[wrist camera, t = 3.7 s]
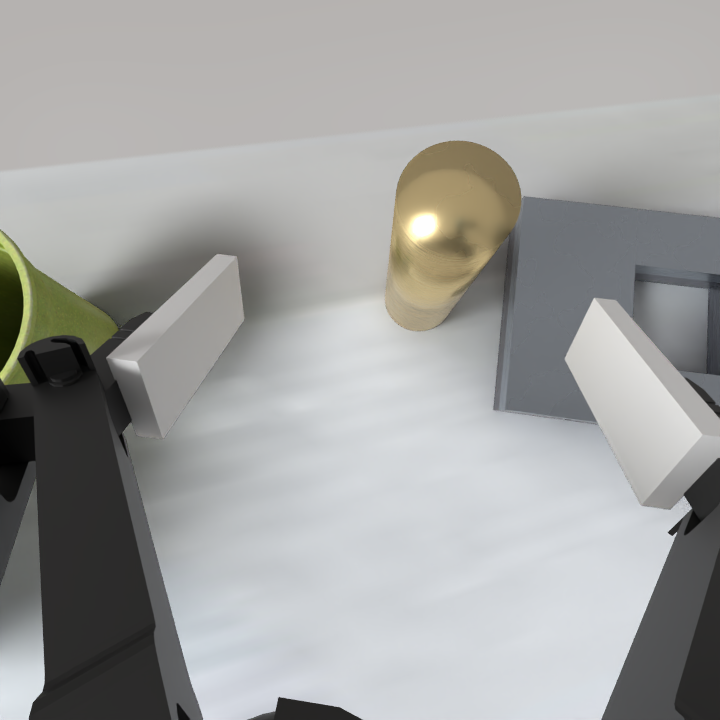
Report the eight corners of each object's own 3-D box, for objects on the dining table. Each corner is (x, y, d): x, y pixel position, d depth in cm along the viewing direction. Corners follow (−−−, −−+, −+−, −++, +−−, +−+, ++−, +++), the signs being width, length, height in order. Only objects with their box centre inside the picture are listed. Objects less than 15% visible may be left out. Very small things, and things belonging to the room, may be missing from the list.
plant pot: (76, 248, 25) (-82, 159, 16) (184, 342, 24) (77, 300, 15) (-32, 363, 24) (-260, 334, 15) (75, 465, 23) (-105, 495, 14)
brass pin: (455, 270, 24) (526, 147, 13) (448, 335, 23) (516, 264, 12) (389, 262, 24) (403, 134, 13) (380, 326, 23) (388, 249, 12)
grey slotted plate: (748, 241, 23) (783, 225, 21) (747, 445, 22) (785, 448, 20) (511, 214, 24) (523, 196, 22) (493, 410, 22) (505, 409, 20)
